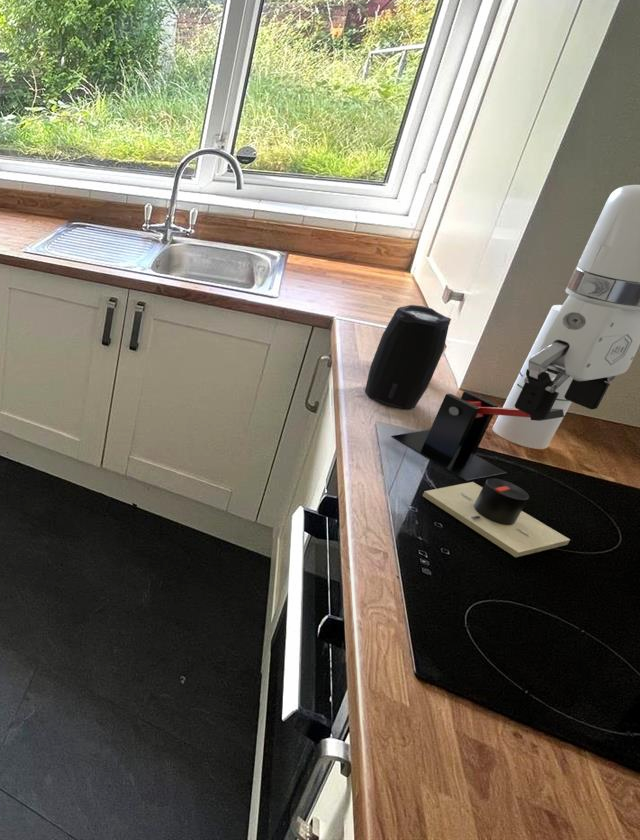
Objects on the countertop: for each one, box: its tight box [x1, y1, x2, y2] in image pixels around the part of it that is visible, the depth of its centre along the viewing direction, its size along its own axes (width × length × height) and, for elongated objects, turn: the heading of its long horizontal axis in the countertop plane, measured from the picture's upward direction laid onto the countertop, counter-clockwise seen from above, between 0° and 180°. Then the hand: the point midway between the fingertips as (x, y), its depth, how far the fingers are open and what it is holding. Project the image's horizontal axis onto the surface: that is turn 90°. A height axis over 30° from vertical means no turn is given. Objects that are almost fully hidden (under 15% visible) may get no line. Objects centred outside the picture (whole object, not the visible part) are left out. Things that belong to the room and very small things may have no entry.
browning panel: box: [422, 481, 571, 558], centre depth 83 cm, size 12×10×2 cm
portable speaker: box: [364, 304, 452, 411], centre depth 110 cm, size 9×9×20 cm
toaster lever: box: [467, 401, 565, 421], centre depth 89 cm, size 12×5×2 cm, turn 15°
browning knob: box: [474, 478, 530, 525], centre depth 82 cm, size 4×4×5 cm
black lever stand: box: [390, 390, 508, 482], centre depth 95 cm, size 12×9×12 cm
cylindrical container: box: [492, 304, 573, 450], centre depth 98 cm, size 7×7×25 cm
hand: (554, 408), depth 77 cm, fingers open, 9 cm apart
